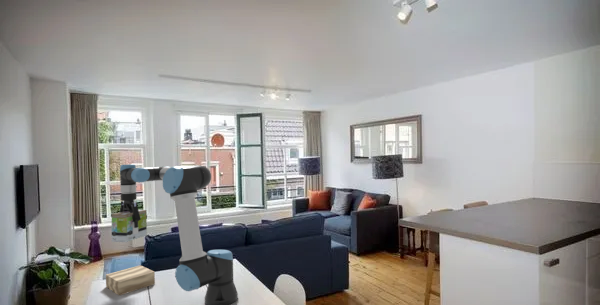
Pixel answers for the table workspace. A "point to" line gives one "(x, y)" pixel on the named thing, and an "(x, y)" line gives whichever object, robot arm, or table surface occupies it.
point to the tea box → (127, 226)
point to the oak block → (130, 279)
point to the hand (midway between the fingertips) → (129, 232)
